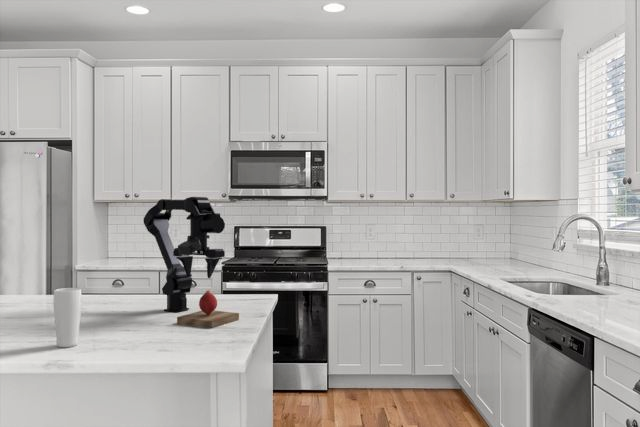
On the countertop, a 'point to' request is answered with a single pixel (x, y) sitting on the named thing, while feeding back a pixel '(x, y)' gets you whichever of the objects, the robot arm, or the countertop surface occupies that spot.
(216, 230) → the robot arm
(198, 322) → the walnut block
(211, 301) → the red round fruit
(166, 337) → the countertop surface
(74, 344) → the drinking glass
